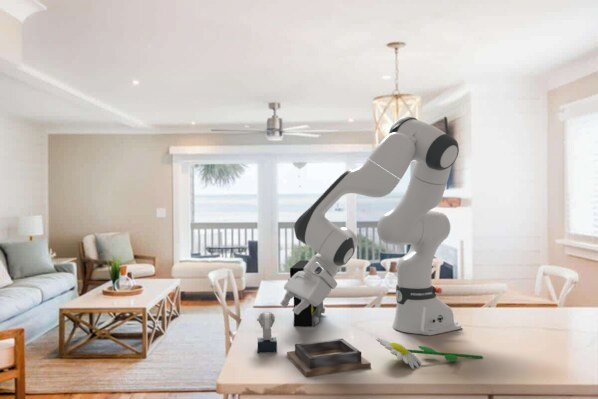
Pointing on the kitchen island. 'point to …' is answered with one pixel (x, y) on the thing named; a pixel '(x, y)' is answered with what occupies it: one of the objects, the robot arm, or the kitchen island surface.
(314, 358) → the dock
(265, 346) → the watch
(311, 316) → the electrical component
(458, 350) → the kitchen island surface
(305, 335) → the kitchen island surface
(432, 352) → the decorative flower
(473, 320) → the kitchen island surface
